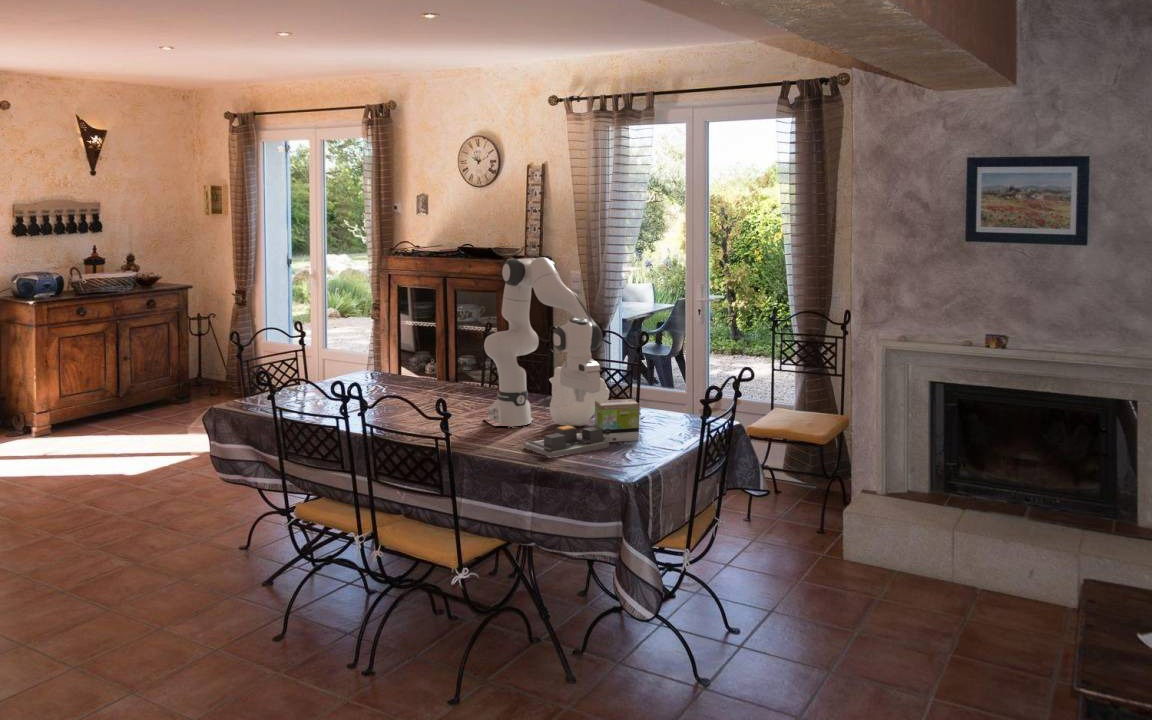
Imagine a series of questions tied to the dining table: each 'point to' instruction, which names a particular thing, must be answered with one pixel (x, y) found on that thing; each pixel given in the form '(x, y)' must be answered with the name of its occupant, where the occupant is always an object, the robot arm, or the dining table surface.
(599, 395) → the decorative rooster
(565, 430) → the block
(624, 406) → the tea box
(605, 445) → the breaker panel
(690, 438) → the dining table surface
